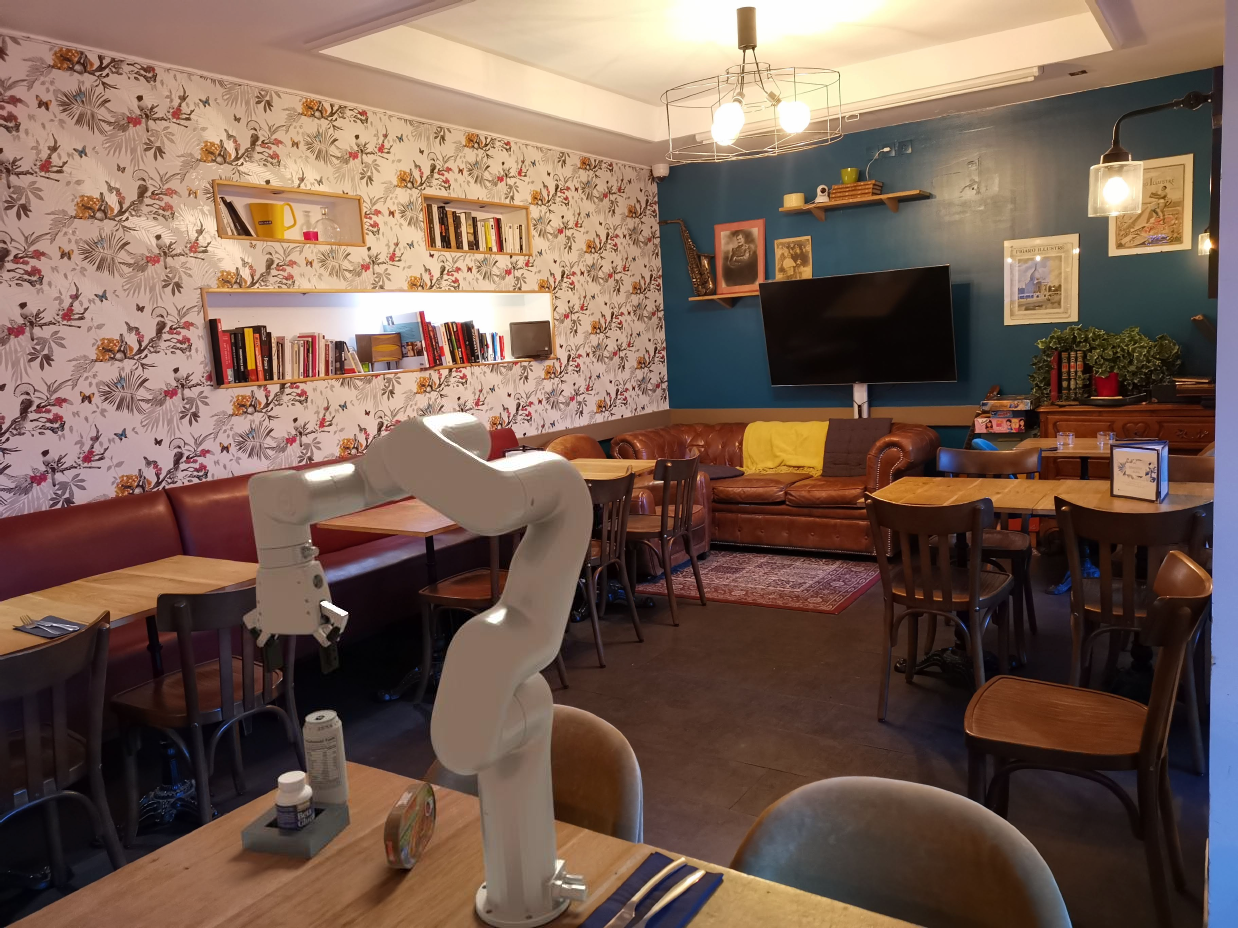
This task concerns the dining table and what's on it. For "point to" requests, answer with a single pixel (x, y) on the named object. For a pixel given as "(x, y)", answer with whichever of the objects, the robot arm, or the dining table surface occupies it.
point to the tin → (410, 825)
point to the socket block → (296, 832)
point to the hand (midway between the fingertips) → (302, 669)
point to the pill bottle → (294, 802)
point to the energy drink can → (325, 757)
